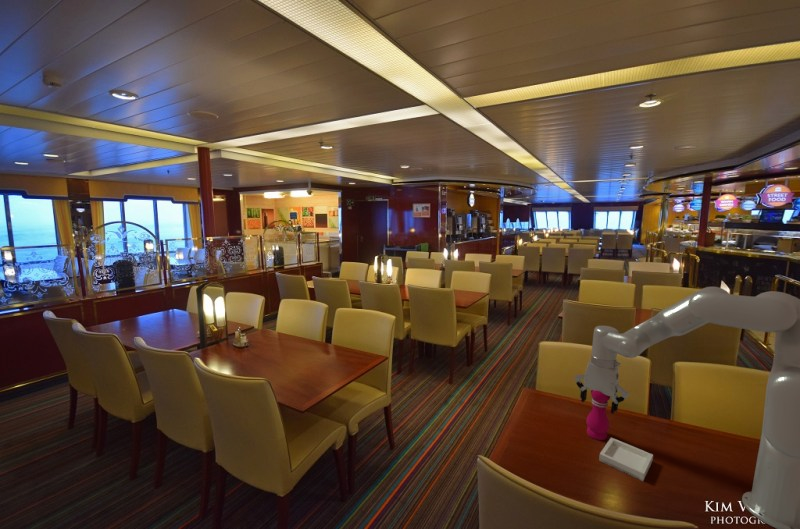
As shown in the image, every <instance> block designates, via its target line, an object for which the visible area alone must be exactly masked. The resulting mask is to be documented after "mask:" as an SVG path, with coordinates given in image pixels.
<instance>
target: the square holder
mask: <svg viewBox="0 0 800 529" xmlns="http://www.w3.org/2000/svg"><path fill="white" fill-rule="evenodd" d="M598 458H599V460H598V461H599V462H601V463H603V464H606V465H607V466H610V467H612V468H614V469H616V470H618V471H620V472H622V473H624V472H625V473H624V474H626V473H627V474H626V475H629V476H630V477H633V478H635V479H637V480H639V481H640V482H641V481H642V482H644V480H645V478H646V476H647V474H648V472H649V470H650V468H651V465H652V463H653V459H654V454H653V453H651V452H650V453H649V452H647V451H645V450H643V449H640V448H638V447H636V446H633V445H631V444H628V443H626V442H623V441H620V440H618V439H616V438H613V437H610V438H609V440H608V441H607V443H606V444H605V446H604V447H603V448H602V449H601V451H600V453H599V457H598Z"/></svg>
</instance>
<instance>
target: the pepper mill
mask: <svg viewBox="0 0 800 529" xmlns="http://www.w3.org/2000/svg"><path fill="white" fill-rule="evenodd" d="M590 395H591V403H592V408H591V411H590V412H589V414H588V415H587V417H586V421H585V422H586V425H587V429H586V433H587V435H588V436H589V437H590V438H592V439H594V440H596V441H597V440H598V441H605V440H606V439H607V438H608V437H607V436H608V431H609V429H610V421H609V419H608V416H607V407H608V405H609V402H608V401H609V400H611V397H610V396H607V395H605V394H603V393H602V392H600V391H597V390H594V391H593V390H590Z"/></svg>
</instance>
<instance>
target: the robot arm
mask: <svg viewBox="0 0 800 529" xmlns="http://www.w3.org/2000/svg"><path fill="white" fill-rule="evenodd" d="M706 324H714V325H719V326H724V327H731V328H737V329H743V330H750V331H757V332H764V333H775V335H774V336H775V337H774V353H773V361H772V367H771V369H770V372H769V375H768V378H767V382H766V383H767V384H766V390H765V401H764V407H763V408H764V409H763V420H762V426H761V427H762V428H761V429H762V430H761V436H760V442H759V448H758V453H757V459H756V465H755V470H754V475H753V476H754V477H753V481H752V482H753V483H752V489H751V491H746V492H745V493H743V495H742V497H741V498H742V499H741V501H742V504H743V506H744V507H745V508H746V510H747V511H748V512H749V513H751V514H752V515H753V516H754V517H756V518H757V519H759V520H760V521H761V522H763V523H765V524H766V525H769V526H770V527H772V528H775V529H800V298H798V297H797V296H793V295H791V294H789V293H786V292H781V291H774V290H773V291H771V290H769V291H765V292H760V293H759V294H757V295H756V296H750V295H749V296H748V295H738V294H733V293H732V294H730V292H728V291H727V290H726V289H724V288H721V287H719V286H706V287H703V288H701V289H699V290H697V291H695V292H693V293H692V294H690V295H688V296H686V297H684V298H683V299H680V300H678V301H677V302H676V303H675V302H674V304H672V305H669V306H668V307H666V308H664V309H663V310H660V311H658V313H657V314H655V315H654V316H652V317H650V318H648V319H646V320H645V321H643V322H641V323H639V324H637V325H636V326H634V327H631V328H630V329H628V330H626V331H625V332H623V333H619V330H618V329H616V328H615V327H613V326H609V325H597V326H595V327H594V329H593V336H592V344H591V345H592V346H591V355H590V359H589V361H587V366H586V369H585V372H584V374H577V375H575V376H574V380H575V382H576V383H575V384H576V385H577V387H578V388H579V391H580V395H579V396H580V402H582V403H584V402H585V401H587V395H588V390H590V391H591V390H593V391H594V390H597V391H600V392H602V393H603V394H605V395H607V396H610V400H612V402H611V409H610V413H611V414H614V413H615V412H618V410H619V403H622V402H624V401H625V400H626V399H627V398H628V397H629V396H630V392H628V391H627V390H625V389H624V388H623V387H622V386H620V385H619V379H620V378H619V377H620V375H619V368H618V367H621V365H622V364H621V362H618V359H617V355H619V356H621V357H623V358H629V359H634V358H637V357H638V356H640V355H641V354H642V353H643V352H645V350H647V349H648V348H650V347H652V346H654V345H656V344H658V343H660V342H662V341H664V340H666V339H669V338H671V337H681V336H684V335H686V334H688V333H690V332H692V331H694V330H696V329H699V328H701V327H702V326H705V325H706ZM581 380H583V383H582V381H581ZM618 392H619V393H620V394H621V396H619V395H618V394H617V393H618Z"/></svg>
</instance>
